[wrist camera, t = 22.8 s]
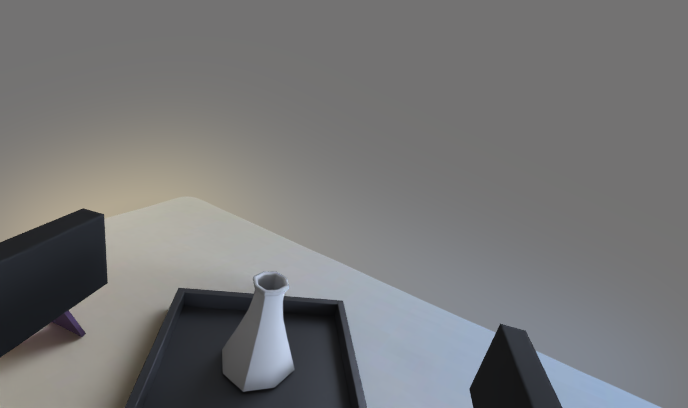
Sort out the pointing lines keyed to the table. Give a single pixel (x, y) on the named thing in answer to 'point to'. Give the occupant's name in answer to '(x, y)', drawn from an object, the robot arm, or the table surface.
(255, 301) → the flask
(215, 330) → the foam tray
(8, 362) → the table surface
